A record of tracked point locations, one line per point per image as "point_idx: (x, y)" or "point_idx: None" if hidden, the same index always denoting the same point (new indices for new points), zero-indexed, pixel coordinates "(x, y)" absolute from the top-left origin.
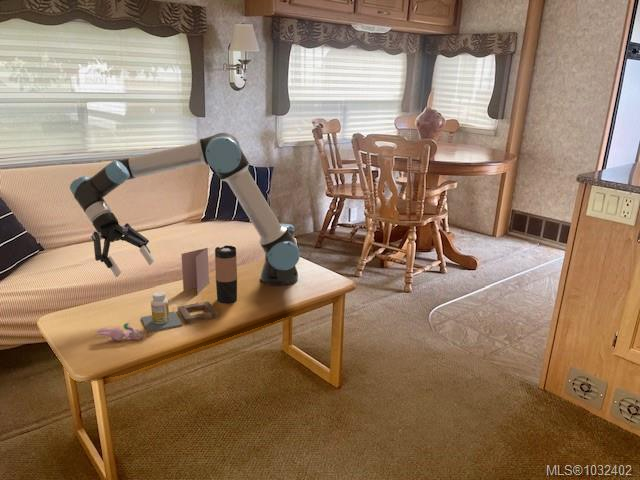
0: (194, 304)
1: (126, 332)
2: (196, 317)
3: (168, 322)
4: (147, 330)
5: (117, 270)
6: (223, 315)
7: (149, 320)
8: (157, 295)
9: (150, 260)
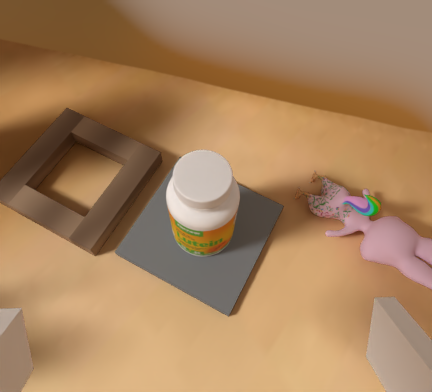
0: (40, 212)
1: (354, 230)
2: (128, 137)
3: None
4: (281, 209)
5: (407, 317)
6: (50, 115)
7: (227, 264)
8: (220, 165)
9: (16, 340)
